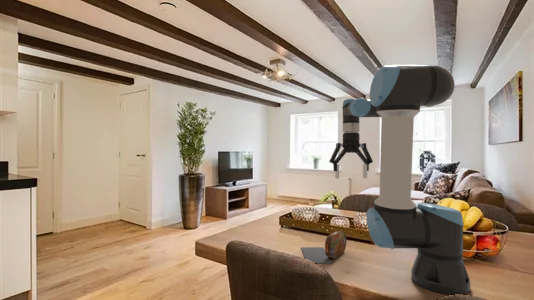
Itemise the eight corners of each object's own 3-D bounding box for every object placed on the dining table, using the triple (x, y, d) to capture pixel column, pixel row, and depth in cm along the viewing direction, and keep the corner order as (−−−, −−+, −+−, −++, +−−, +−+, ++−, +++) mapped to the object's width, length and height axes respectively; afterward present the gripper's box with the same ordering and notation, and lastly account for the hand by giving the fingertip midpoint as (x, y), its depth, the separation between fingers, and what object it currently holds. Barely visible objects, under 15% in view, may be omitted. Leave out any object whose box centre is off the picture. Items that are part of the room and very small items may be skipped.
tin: (330, 261, 100) (331, 238, 100) (322, 259, 102) (323, 236, 102) (346, 250, 112) (347, 229, 112) (339, 248, 114) (340, 228, 114)
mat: (332, 263, 99) (332, 263, 99) (307, 263, 99) (307, 263, 99) (323, 248, 115) (323, 247, 115) (301, 248, 115) (301, 247, 115)
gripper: (372, 133, 136) (372, 177, 136) (322, 133, 133) (322, 177, 133) (380, 132, 129) (380, 178, 129) (328, 131, 126) (328, 179, 125)
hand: (351, 178), depth 131 cm, fingers open, 13 cm apart
